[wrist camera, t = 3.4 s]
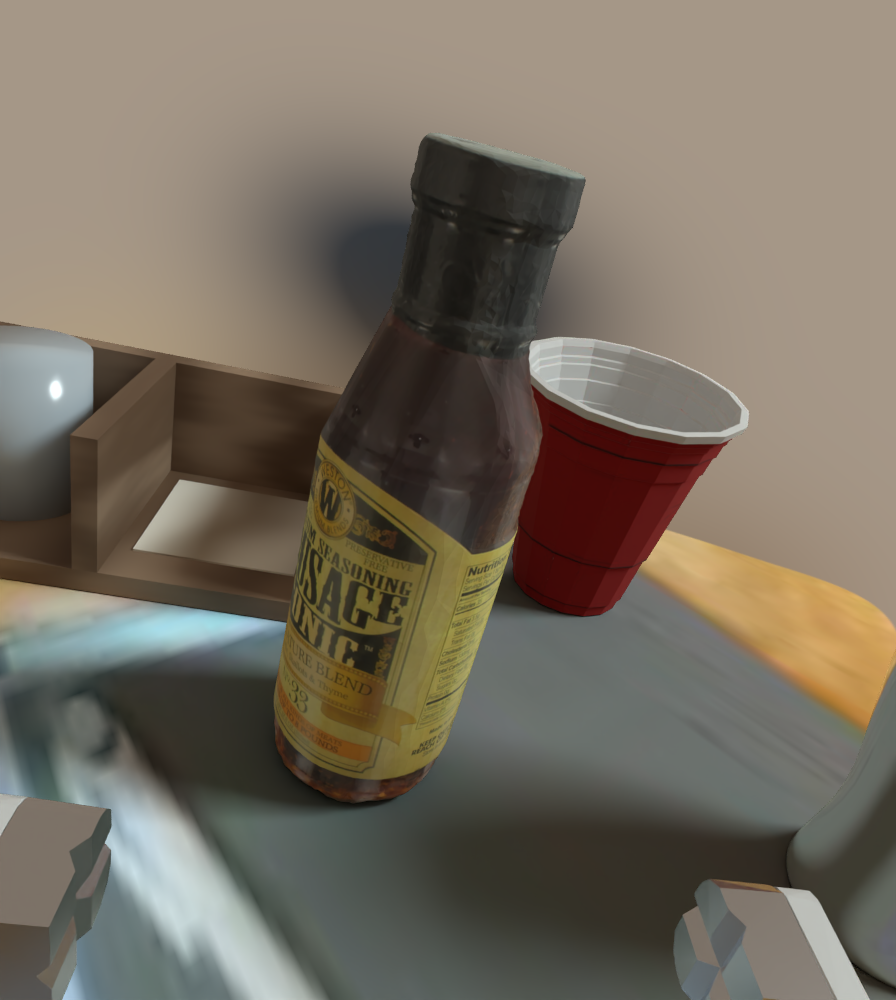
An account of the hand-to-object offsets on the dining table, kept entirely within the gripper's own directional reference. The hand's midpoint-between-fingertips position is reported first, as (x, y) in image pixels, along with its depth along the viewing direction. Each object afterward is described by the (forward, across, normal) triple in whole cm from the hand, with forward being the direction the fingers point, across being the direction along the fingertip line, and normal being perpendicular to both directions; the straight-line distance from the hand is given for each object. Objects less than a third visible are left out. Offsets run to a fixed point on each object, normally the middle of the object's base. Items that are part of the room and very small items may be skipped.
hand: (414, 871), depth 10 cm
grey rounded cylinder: (+25, +17, +10) cm, 32 cm away
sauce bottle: (+13, 0, +11) cm, 17 cm away
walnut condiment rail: (+25, +12, +11) cm, 30 cm away
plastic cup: (+26, -10, +11) cm, 30 cm away
